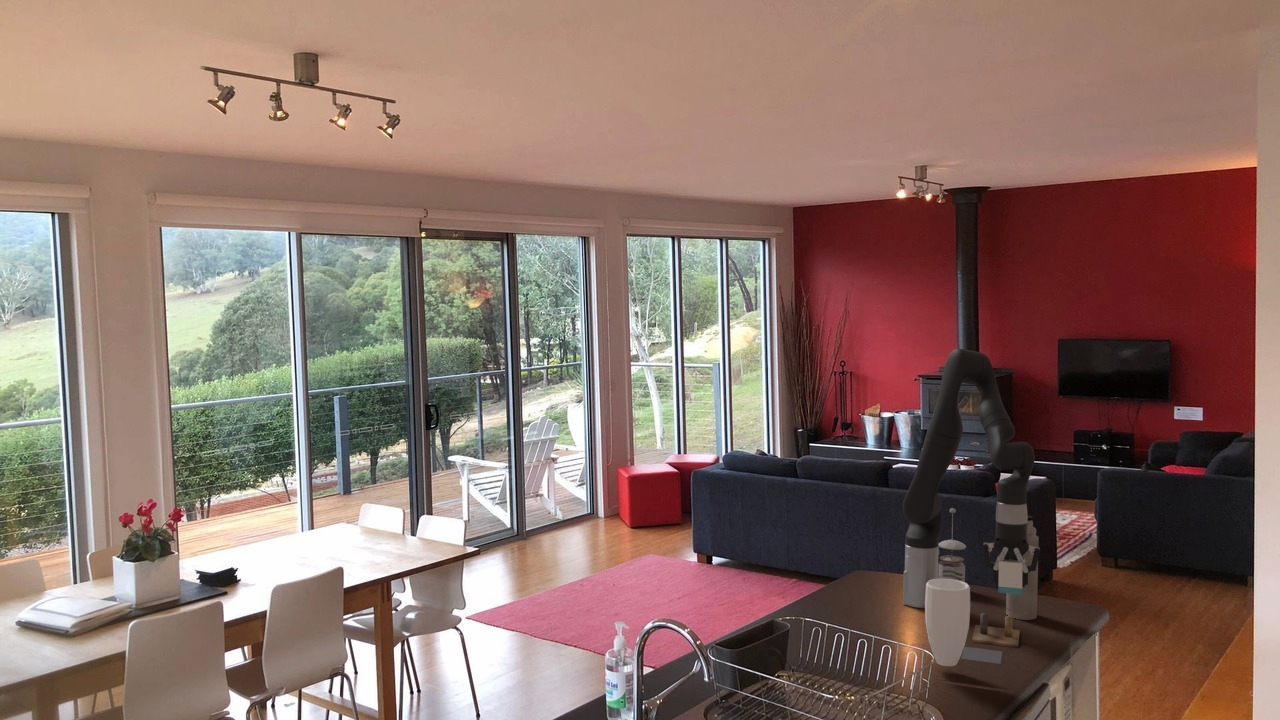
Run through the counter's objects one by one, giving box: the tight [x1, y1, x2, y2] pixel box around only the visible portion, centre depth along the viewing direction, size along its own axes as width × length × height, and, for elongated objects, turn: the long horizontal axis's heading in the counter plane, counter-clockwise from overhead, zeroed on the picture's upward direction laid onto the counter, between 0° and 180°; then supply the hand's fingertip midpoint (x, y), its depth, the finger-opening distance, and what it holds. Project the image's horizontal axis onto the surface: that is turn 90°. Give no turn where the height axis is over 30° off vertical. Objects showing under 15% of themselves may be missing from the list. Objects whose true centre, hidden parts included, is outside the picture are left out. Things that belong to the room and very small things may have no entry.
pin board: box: [971, 612, 1021, 648], centre depth 254 cm, size 11×12×6 cm
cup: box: [924, 579, 971, 667], centre depth 229 cm, size 10×10×22 cm
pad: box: [960, 646, 1003, 665], centre depth 241 cm, size 9×9×1 cm
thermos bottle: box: [1005, 514, 1040, 621], centre depth 272 cm, size 8×8×28 cm
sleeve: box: [997, 559, 1023, 595], centre depth 252 cm, size 6×6×8 cm
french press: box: [938, 507, 967, 583], centre depth 296 cm, size 10×12×25 cm
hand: (1010, 584), depth 252 cm, fingers closed on sleeve, 5 cm apart
